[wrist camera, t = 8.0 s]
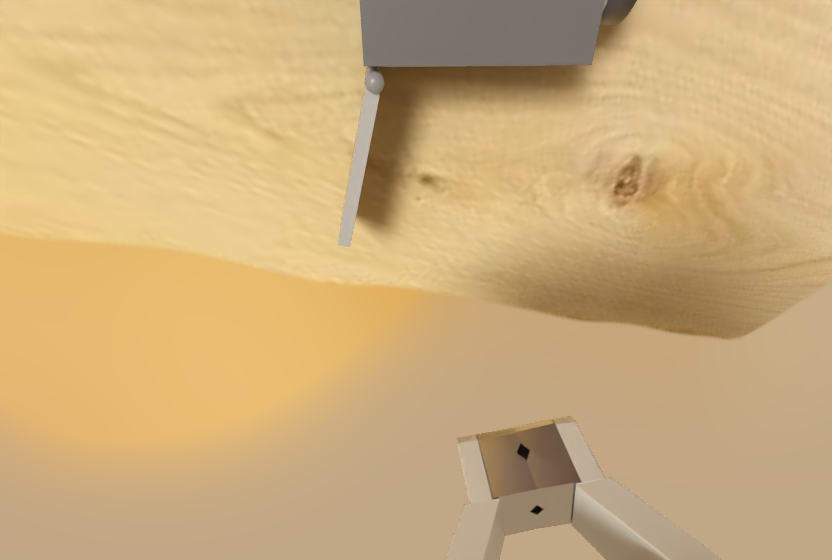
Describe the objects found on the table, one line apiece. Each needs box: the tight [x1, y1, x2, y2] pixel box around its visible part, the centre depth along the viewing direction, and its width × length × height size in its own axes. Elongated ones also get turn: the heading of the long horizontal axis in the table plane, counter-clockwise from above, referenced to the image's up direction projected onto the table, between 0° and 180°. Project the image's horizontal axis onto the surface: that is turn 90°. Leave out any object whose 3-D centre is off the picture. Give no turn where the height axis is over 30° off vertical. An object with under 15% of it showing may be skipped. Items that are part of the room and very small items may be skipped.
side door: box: [338, 66, 384, 247], centre depth 26 cm, size 10×1×6 cm, turn 165°
